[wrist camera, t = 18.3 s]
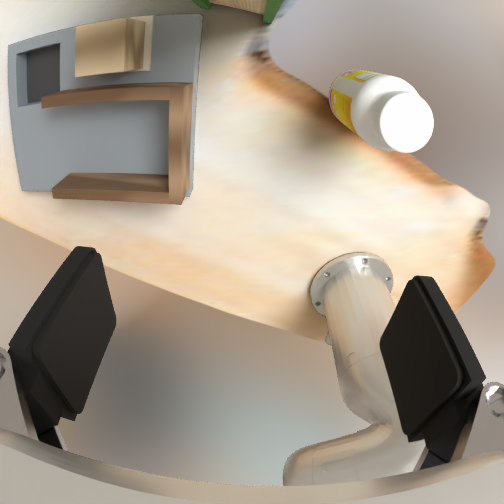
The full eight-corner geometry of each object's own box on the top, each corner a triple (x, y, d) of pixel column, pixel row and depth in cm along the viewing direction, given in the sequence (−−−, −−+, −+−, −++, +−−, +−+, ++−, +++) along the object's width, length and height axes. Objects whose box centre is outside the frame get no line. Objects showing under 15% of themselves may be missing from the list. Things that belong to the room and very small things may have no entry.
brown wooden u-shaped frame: (189, 186, 34) (181, 204, 30) (71, 181, 33) (53, 198, 29) (193, 82, 27) (183, 86, 23) (63, 89, 26) (41, 97, 23)
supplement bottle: (360, 137, 32) (407, 182, 22) (315, 102, 30) (347, 129, 20) (395, 95, 29) (458, 122, 19) (351, 56, 27) (403, 61, 17)
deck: (193, 188, 36) (188, 198, 34) (31, 183, 35) (20, 192, 33) (203, 16, 25) (198, 13, 23) (19, 43, 24) (6, 45, 21)
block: (143, 68, 26) (124, 71, 22) (98, 72, 25) (75, 77, 21) (145, 21, 23) (126, 17, 19) (100, 27, 23) (76, 26, 18)
